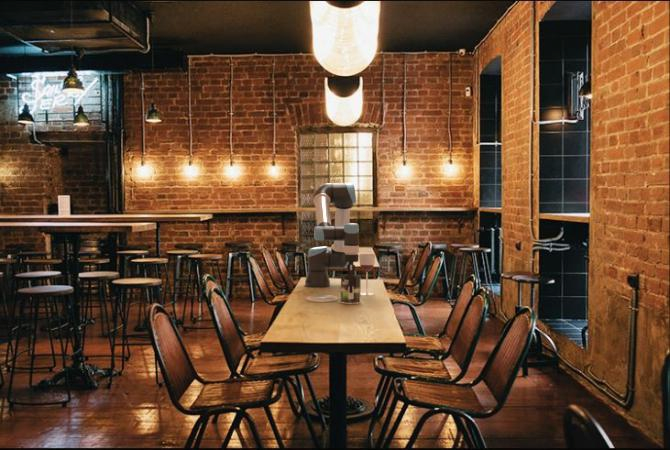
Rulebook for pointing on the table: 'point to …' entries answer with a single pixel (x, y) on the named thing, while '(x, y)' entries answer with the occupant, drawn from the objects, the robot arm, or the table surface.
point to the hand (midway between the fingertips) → (350, 297)
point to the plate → (322, 298)
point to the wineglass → (367, 267)
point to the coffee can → (345, 289)
